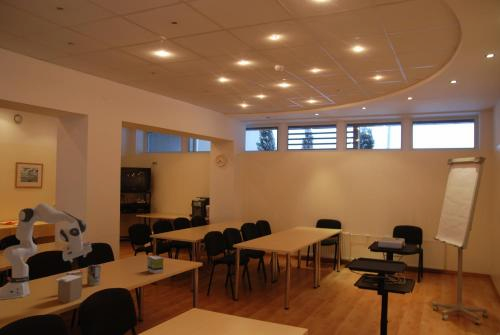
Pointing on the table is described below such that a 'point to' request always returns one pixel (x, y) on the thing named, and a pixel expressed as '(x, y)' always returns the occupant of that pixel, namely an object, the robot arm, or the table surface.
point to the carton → (69, 290)
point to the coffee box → (93, 275)
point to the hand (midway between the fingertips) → (78, 259)
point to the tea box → (155, 264)
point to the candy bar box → (76, 274)
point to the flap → (68, 278)
